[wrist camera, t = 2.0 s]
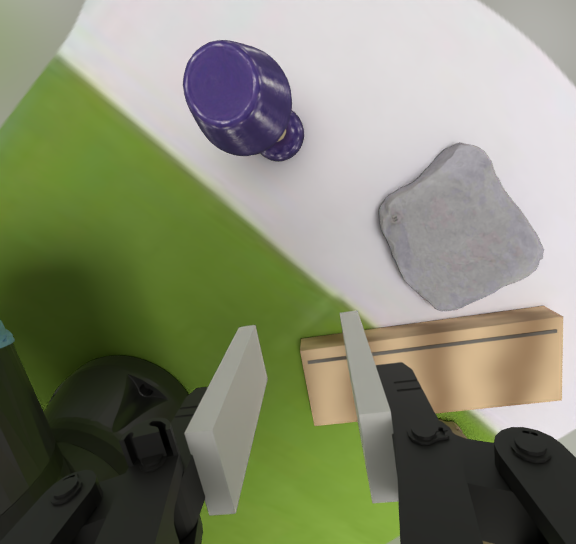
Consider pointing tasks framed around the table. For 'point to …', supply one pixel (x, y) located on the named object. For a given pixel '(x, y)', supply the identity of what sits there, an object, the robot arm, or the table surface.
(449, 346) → the oak board
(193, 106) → the toy lamp
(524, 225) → the stone block
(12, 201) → the table surface
